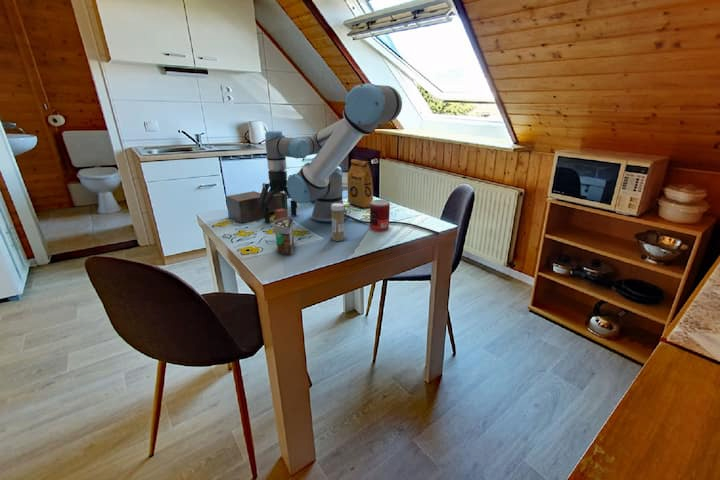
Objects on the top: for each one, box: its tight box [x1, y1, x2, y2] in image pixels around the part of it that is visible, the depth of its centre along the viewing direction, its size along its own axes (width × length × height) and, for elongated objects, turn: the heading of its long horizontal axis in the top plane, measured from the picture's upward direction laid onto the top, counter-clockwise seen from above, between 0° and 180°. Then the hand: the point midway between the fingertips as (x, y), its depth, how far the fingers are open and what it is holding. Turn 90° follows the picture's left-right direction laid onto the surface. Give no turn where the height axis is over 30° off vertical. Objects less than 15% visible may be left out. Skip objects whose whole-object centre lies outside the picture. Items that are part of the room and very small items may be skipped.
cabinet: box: [225, 190, 271, 224], centre depth 152 cm, size 14×12×10 cm
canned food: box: [369, 199, 391, 232], centre depth 138 cm, size 8×8×11 cm
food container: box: [272, 216, 295, 256], centre depth 117 cm, size 12×6×10 cm, turn 5°
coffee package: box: [347, 159, 374, 209], centre depth 169 cm, size 10×12×22 cm
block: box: [274, 208, 289, 220], centre depth 150 cm, size 4×4×4 cm
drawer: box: [267, 191, 291, 214], centre depth 161 cm, size 18×10×8 cm, turn 136°
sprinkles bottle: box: [331, 203, 345, 242], centre depth 126 cm, size 5×5×13 cm
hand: (281, 218), depth 151 cm, fingers open, 13 cm apart
